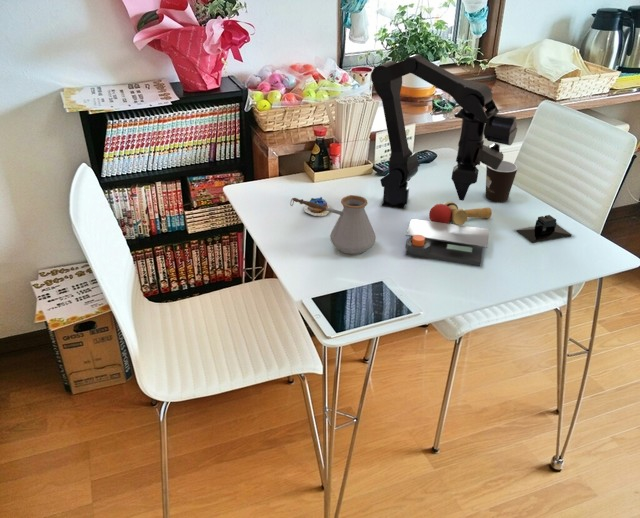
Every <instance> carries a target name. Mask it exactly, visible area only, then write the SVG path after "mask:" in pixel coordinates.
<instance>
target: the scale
mask: <svg viewBox="0 0 640 518" xmlns="http://www.w3.org/2000/svg"><path fill="white" fill-rule="evenodd" d="M412 238H413V237H409V238H407V239H406V241H405V247H404V248H405V256H408V257H415V258H420V259H428V260H434V261H441V262H446V263H447V262H448V263H453V264H460V265H467V266H473V267H481V265H482V259H483V250H484V247H478V246H472V245H465V244H458V243H451V242H444V241H437V240H430V239H425V242H424V246H414V245H413V244H412ZM447 244H451V245H458V246H464V247H471V248H472V253H470V252H463V251H456V250H450V249H446V248H447Z"/></svg>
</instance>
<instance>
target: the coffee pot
mask: <svg viewBox="0 0 640 518" xmlns="http://www.w3.org/2000/svg"><path fill="white" fill-rule="evenodd" d="M309 201H310V200H304V199H303V198H302V199H299V198H297V197H292V198H291V200H290V203H289V205H290V207H293V205H294V204H295V202H296V203H299V204H300V205H304V206H306V205H307V206H309V207H313V208H317V209H321V210H326V211H329V213H332V214H335V215H339V216H338V219H337V221H336V222H335V225H333V228H332V230H331V232H330V234H329V239H330V242H331V244H332V245H333V246H334V248H336V249H337V250H339V251H340V252H341V253H343V254H346V255H361V254H363V253H365V252H366V251H368V250H370V249H371V248H372V247H373V246H374V244H375V242H376V240H377V237H376V233H375V231H374V228H373V226H372V223H371V222H370V218H369V216H368V214H367V211H366V209H365V208H366V207H367V205H368V200H367V198H365V197H363V196H360V195H353V194H350V195H347V196H344V197H342V198H341V201H340V203H341V206H342V208H343V209H342V210H338V209H334V208H331V207H330V208H327V207H325V206H322V205H319V204H316V203H314V202H309Z"/></svg>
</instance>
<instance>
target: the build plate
mask: <svg viewBox="0 0 640 518" xmlns="http://www.w3.org/2000/svg"><path fill="white" fill-rule="evenodd" d="M516 232H517V233H518V234H520V235H521V236H522V237H524V238H525V239H526V240H527V241H528V242H529V243H531V244H535V243H543V242H548V241H554V240H558V239H567V238H571V237H572V235H573V234H572V233H570V232H569V231H567V230H566V229H565V228H563V227H562V226H560V225H559V224H558V223H557V219H556V218H555V217H554V216H552V215H550V214H547V215H541V216H537V219H536V221H535V225H534V226H531V227H526V228H519V229H516Z"/></svg>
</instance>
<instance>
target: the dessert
mask: <svg viewBox="0 0 640 518" xmlns="http://www.w3.org/2000/svg"><path fill="white" fill-rule="evenodd" d="M308 201H309V202H314V203H316V204H319V205H322V206H325V207H327V208H331V207H330V205H329V204H328V202H327V201H326V199H324V198H323V196H320V197H316V198H314V197H311V199H310V200H308ZM303 211H304V212H305V213H307V214H309V215H311V216H315V217H324V216H327V215H328V214H329V213H330V212H329V211H326V210H321V209H317V208H313V207H309V206H307V205H304V207H303Z"/></svg>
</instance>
